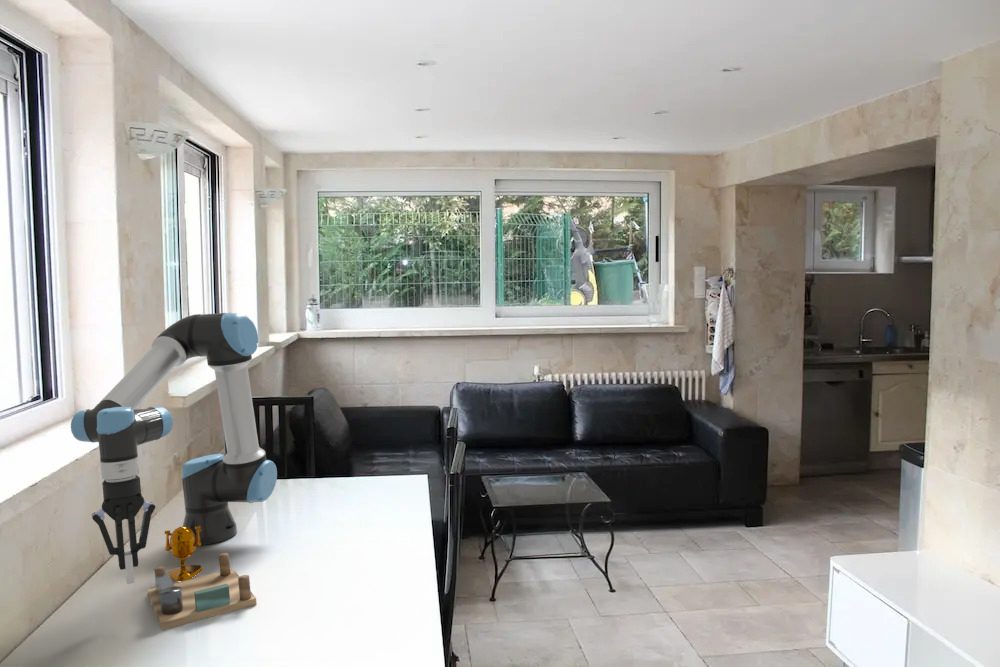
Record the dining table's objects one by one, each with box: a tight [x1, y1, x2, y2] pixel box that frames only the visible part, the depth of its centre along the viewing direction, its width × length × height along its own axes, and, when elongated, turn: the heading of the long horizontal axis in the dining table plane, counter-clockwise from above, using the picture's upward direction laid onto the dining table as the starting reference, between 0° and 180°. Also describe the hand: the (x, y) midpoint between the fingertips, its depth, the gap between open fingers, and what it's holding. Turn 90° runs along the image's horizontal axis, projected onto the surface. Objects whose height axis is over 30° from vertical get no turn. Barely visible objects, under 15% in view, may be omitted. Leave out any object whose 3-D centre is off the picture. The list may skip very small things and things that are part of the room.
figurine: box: [164, 525, 205, 582], centre depth 200 cm, size 8×11×12 cm
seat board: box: [146, 552, 257, 630], centre depth 183 cm, size 22×20×6 cm
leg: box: [154, 573, 183, 614], centre depth 179 cm, size 15×4×4 cm, turn 31°
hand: (130, 581), depth 176 cm, fingers closed
